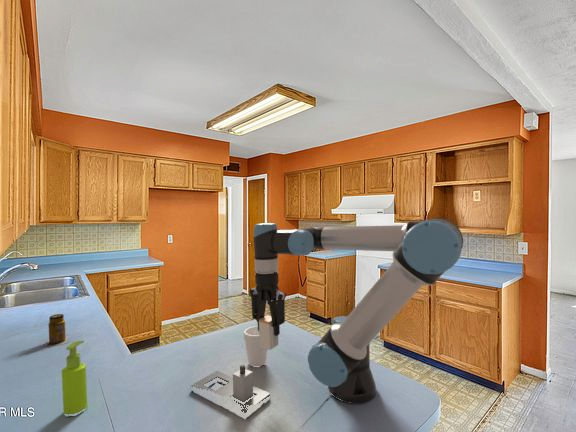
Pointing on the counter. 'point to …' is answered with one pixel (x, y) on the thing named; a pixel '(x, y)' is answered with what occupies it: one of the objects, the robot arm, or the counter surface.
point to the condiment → (56, 330)
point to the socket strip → (231, 389)
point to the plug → (265, 332)
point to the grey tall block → (243, 384)
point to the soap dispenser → (74, 382)
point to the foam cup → (254, 347)
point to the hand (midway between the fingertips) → (268, 342)
